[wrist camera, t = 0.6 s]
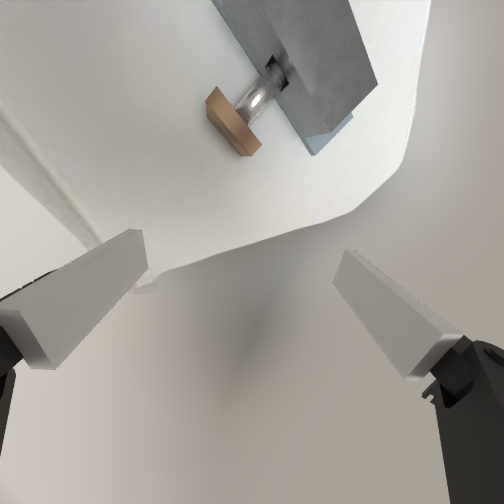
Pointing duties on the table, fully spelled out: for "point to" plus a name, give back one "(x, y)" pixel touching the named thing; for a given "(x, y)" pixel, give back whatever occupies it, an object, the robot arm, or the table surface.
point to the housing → (306, 59)
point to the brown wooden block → (245, 110)
